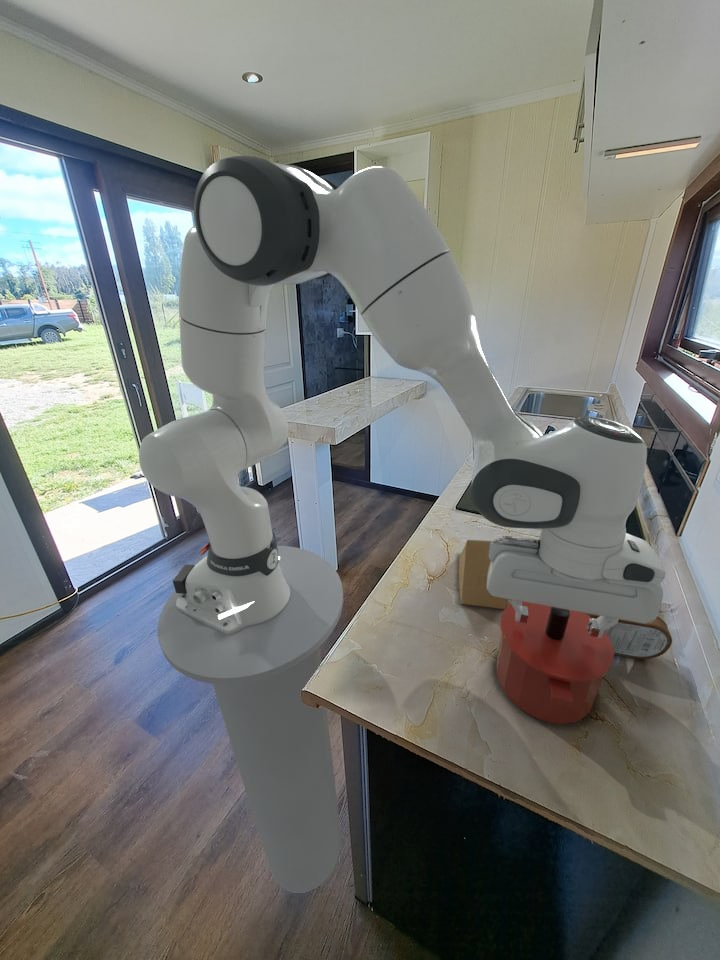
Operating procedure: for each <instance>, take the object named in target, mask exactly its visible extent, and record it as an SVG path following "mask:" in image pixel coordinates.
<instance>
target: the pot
mask: <svg viewBox="0 0 720 960" xmlns="http://www.w3.org/2000/svg"><path fill="white" fill-rule="evenodd" d="M495 670H496V676H497V680H498V683H499V685H500V687H501V689H502V691H503V692H504V694H505V695H506V696H507V697H508V699H509V700H510V701H511V702H512V703H513V704H515V706H516V707H517V708H518V709H520V710H522V711H523V712H525V714H528V715H529V716H531V717H533V718H535V719H538V720H540V721H543V722H547V723H550V724H556V725H568V724H574V723H576V722H579V721H581V720H583V719H584V718H585V717H586V716H587V715H588V714H589V713H590V712H591V711H592V708H593V705H594V702H595V699H596V697H597V694H598V692H599V689H600V686H601V683H602V681H603V678H604V675H603V676H601V677H600V678H598V679H595V680H592V681H587V682H569V681H563V680H559V679H555V678H552V677H549V676H547V675H544V674H542V673H540V672H538V671H536V670H534V669H533V668H531V667H529V666H528V665H527V664H525V663H524V662H523V661H521V660H520V659H519V658H518V657H517V656H516V655H515V654H514V653H513V652H512V651H511V649H510V648H509V647H508V645H507V644H506V642H505V640H504V638H503V636H502V633H501V634H500V640H499V646H498V650H497V657H496V668H495Z"/></svg>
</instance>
